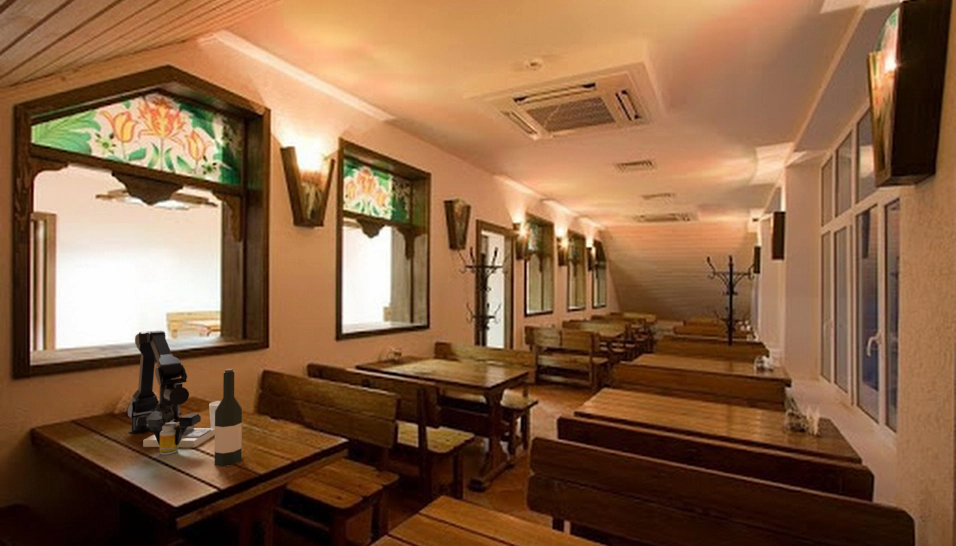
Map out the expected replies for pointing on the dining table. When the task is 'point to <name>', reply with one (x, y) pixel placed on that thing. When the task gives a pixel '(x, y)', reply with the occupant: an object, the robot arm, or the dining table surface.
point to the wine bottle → (228, 425)
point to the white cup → (213, 412)
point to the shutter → (195, 432)
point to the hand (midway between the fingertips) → (168, 444)
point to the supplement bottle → (168, 439)
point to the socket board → (184, 441)
